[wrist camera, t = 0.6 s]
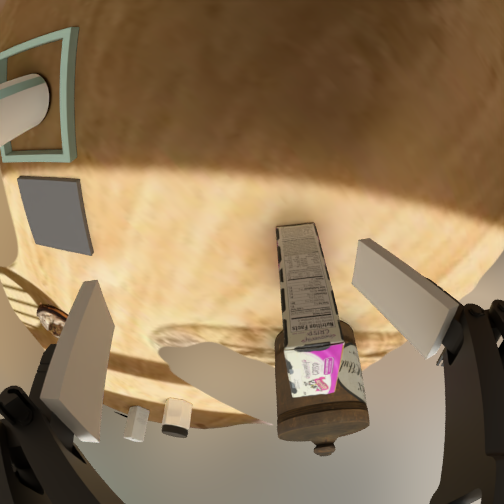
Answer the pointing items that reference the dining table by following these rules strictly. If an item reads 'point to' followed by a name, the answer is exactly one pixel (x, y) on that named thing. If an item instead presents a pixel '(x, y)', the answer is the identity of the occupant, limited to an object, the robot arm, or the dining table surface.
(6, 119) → the can
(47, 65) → the dining table surface
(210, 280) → the dining table surface
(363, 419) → the wooden container
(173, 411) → the jar
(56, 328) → the sushi roll
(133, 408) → the skincare box
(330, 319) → the candy bar box
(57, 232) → the coaster
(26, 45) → the corral
